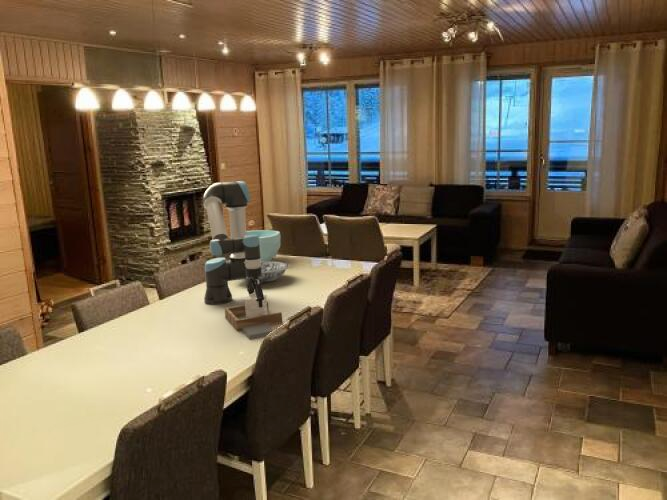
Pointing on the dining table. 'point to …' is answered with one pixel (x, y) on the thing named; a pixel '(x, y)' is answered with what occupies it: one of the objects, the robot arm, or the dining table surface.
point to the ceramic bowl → (272, 270)
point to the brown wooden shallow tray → (237, 323)
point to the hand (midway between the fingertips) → (256, 310)
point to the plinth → (257, 330)
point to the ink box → (254, 306)
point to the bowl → (267, 243)
